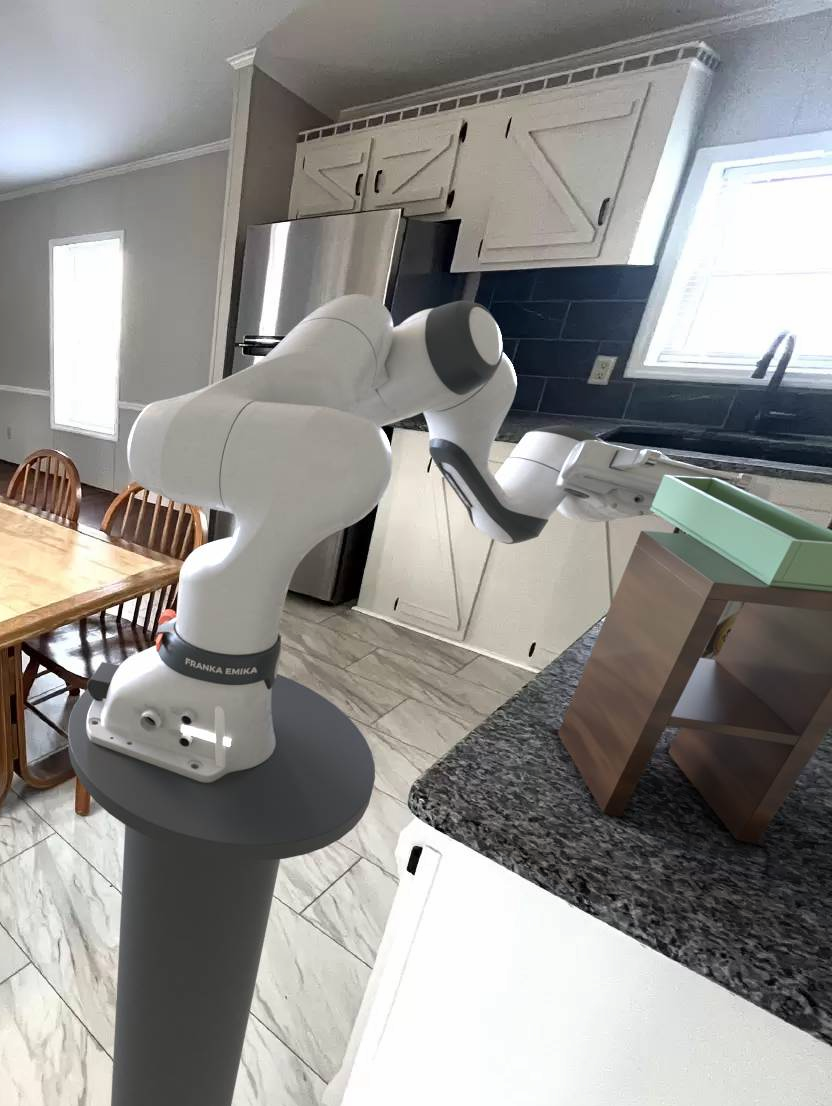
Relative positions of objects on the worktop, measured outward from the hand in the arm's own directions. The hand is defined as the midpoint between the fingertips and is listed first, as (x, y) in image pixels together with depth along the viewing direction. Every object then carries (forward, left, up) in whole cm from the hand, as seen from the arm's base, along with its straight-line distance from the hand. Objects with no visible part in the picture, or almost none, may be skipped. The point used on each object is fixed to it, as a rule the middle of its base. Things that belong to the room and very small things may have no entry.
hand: (698, 469), depth 75 cm
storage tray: (-4, -19, -3) cm, 20 cm away
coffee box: (+15, +13, -29) cm, 35 cm away
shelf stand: (-4, -24, -29) cm, 38 cm away
